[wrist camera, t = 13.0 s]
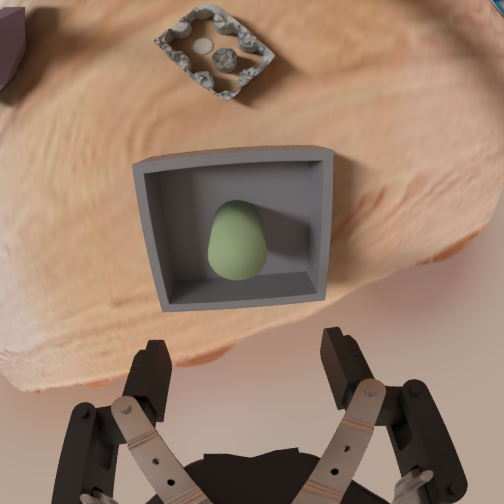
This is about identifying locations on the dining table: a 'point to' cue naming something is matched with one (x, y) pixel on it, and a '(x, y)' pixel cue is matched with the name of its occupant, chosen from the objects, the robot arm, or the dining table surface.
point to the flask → (11, 42)
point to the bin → (269, 212)
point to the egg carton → (202, 46)
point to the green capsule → (237, 241)
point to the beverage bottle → (499, 5)
